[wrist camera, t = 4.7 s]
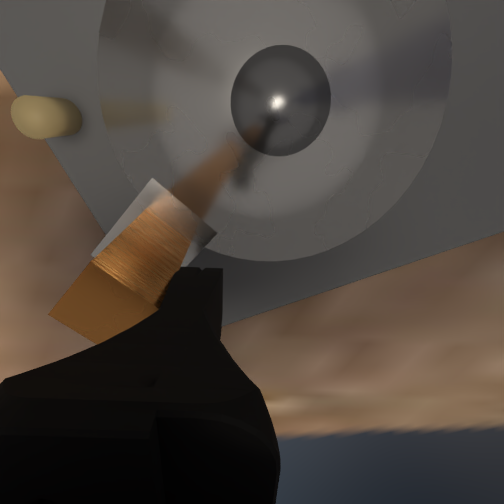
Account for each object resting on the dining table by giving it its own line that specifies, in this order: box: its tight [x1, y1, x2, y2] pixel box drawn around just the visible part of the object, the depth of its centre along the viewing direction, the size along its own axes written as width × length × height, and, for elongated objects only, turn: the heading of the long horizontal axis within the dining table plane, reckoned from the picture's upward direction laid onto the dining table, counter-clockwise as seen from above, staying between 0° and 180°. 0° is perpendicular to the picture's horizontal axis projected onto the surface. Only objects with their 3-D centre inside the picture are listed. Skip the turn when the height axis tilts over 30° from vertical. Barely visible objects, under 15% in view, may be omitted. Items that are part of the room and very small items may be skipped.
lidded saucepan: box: [48, 0, 452, 344], centre depth 9 cm, size 14×11×5 cm
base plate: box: [0, 0, 504, 326], centre depth 11 cm, size 16×16×3 cm
